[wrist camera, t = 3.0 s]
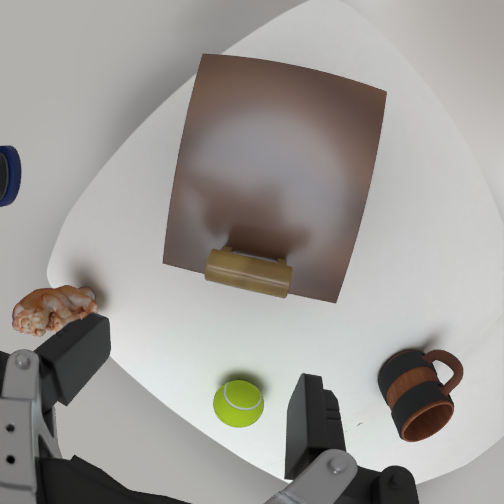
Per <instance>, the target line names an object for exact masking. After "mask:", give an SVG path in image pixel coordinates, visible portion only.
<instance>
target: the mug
mask: <svg viewBox="0 0 504 504" xmlns="http://www.w3.org/2000/svg"><path fill="white" fill-rule="evenodd" d="M435 360H438V361H441V362H443V363H445V364H446V365H448V366H449V367H450V368H451V369H452V370H453V372H454V375H453V377H452V378H451V379H450V380H449V381H448V382H447V383H446V384H445V385H443V384H442V383H441V382H440V381H439V379H438V377H437V373H436V370H435V368H434V366H433V363H432V362H433V361H435ZM462 377H463V366H462V364H461V362H460V361H459V360H458V359H457V358H456V357H455V356H454V355H452V354H451V353H449V352H446V351H444V350H433V351H430V352H428V353H427V354H424V353H423V352H420V351H415V350H408V351H404V352H401V353H399V354H397V355H395V356H394V357H392V358H391V359H390V360H389V361H388V362H387V363H386V364H385V365H384V367H383V368H382V370H381V373H380V375H379V378H378V385H379V388H380V391H381V393H382V395H383V398H384V400H385V401H386V403H387V405H388V406H389V407H390V409H391V411H392V412H391V416H392V418H393V421H394V423H395V425H396V428H397V430H398V433H399V436H400V438H401V439H403V440H405V441H407V442H416V441H420V440H423V439H426V438H428V437H430V436H432V435H433V434H435V433H436V432H438V431H439V430H440V429H442V428H443V427H444V426H445V425H446V424H447V423H448V421H449V420H450V419H451V417H452V415H453V412H454V403H453V401H452V399H451V397H450V395H449V393H450V392H451V391H452V390H453V389H454V388H455V387H456V386H457V385H458V384H459V383H460V381H461V379H462Z"/></svg>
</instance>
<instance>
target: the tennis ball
mask: <svg viewBox="0 0 504 504" xmlns="http://www.w3.org/2000/svg"><path fill="white" fill-rule="evenodd" d="M213 406H214V411H215V413H216V415H217V417H218V418H219V419H220V420H221V421H222V422H223V423H225V424H227V425H229V426H232V427H246V426H249V425H251V424H253V423H254V422H256V421H257V420H258V419H259V417H260V416H261V414H262V412H263V408H264V399H263V396H262V394H261V392H260V390H259V389H258V388H257V387H256V386H254V385H253V384H251V383H249V382H247V381H242V380H234V381H230V382H228V383H225V384H224V385H222V386H221V387H220V388H219V389H218V391H217V392H216V394H215V397H214V401H213Z"/></svg>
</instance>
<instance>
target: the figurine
mask: <svg viewBox="0 0 504 504" xmlns="http://www.w3.org/2000/svg"><path fill="white" fill-rule="evenodd" d="M97 311H98V305H97V303H96V302H95V295H94V292H93V291H92V290H91V289H90V288H88V287H81V288H79V289H78V288H75V287H72V286H69V285H64V286H62V287H59V288H55V289H53V288H44V289H37V290H35V291H33V292H32V293H30V294H28V295H27V296H26V297H24V298H23V299H22V300H21V301H20V302H19V303H17V304H16V306H15V307H14V309H13V315H12V317H13V322H12V325H13V328H14V329H15V330H17V331H20V332H21V333H25V334H29V333H30V334H31V335H33V336H38V337H41V336H43V335H44V334H45V333H46V330H47V331H53V332H55V333H56V332H58V331H59V330H62V328H63V327H64V326H65V325H67V324H68V323H69V322H72V321H74V320H77V319H81V318H82V319H83V318H84V317H85V316H87V315H88V314H89V313H91V312H94V313H97Z"/></svg>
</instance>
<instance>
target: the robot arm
mask: <svg viewBox="0 0 504 504" xmlns="http://www.w3.org/2000/svg"><path fill="white" fill-rule="evenodd" d="M9 181H10V167H9V162H8V159H7V157H6V155H5V154H4V153H2V152H0V200H2V199H3V198H4V197H5V195H6V193H7V190H8V187H9ZM110 351H111V341H110V323H109V319H108V318H107V317H104V316H102V315H99V314H97V313H94V312H91V313H89V314H88V315H87V316H85V317H84V318H83V319H77V320H74V321H72V322H69V323H68V324H67V325H65V326H64V327H63V328H62V330H59V331H58V332H56V334H55V335H53V336H52V337H50V338H49V339H48V340H47V341H45V342H44V343H43V344H42V345H40V346H39V347H38V348H37V349H36V350H34V351H30V350H26V349H24V350H23V349H22V350H18V351H15V352H13V353H12V354H8V353H5V352H2V351H0V504H191V503H187V502H184V501H180V500H177V499H174V498H170V497H167V496H162V495H155V494H149V493H142V492H137V491H132V490H129V489H127V488H126V487H124V486H123V485H121V484H120V483H119V482H117V481H116V480H114V479H113V478H112V477H110V476H109V475H108V474H107V473H105V472H104V471H103V470H102V469H100V468H98V467H96V466H94V465H92V464H90V463H88V462H86V461H85V460H82V459H81V458H79V457H77V456H76V455H74V456H73V457H72V459H71V460H66V459H63V458H62V455H61V453H60V449H59V446H58V439H57V429H56V416H55V407H54V404H55V403H56V402H57V401H58V402H60V403H62V404H63V405H65V406H67V405H68V404H69V403H70V402H71V401H72V400H73V398H74V397H75V396H76V395H77V394H78V392H79V391H80V390H81V389H82V388H83V387H84V386H85V384H86V383H87V382H88V381H89V379H91V377H92V376H93V375H94V374H95V373H96V372H97V371H98V369H99V368H100V367H101V366H102V365H103V364H104V363H105V361H106V360H107V359H108V357H109V355H110ZM284 479H288V480H293V481H292V482H291V483H290V484H289V485H288V486H287V487H286V488H285V489H283V490H282V491H279V492H278V493H276V494H275V495H274V496H273V497H271V498H270V499H269V500H268V501H267V502H265V503H264V504H419V500H418V495H417V490H416V485H415V480H414V477H413V475H412V474H411V472H410V471H409V470H407V469H406V468H404V467H401V466H389V467H387V468H385V469H384V470H383V471H382V472H378V471H374V470H370V469H366V468H363V467H360V466H358V465H357V463H356V461H355V459H354V458H353V457H352V456H351V455H350V454H349V453H347V452H346V447H345V440H344V434H343V428H342V422H341V416H340V412H339V404H338V400H337V398H336V397H335V395H334V394H333V392H332V391H331V390H324V389H323V383H322V377H321V376H317V375H311V374H305V373H302V374H301V376H300V378H299V380H298V383H297V385H296V387H295V390H294V392H293V394H292V396H291V399H290V401H289V405H288V409H287V429H286V456H285V477H284Z"/></svg>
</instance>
